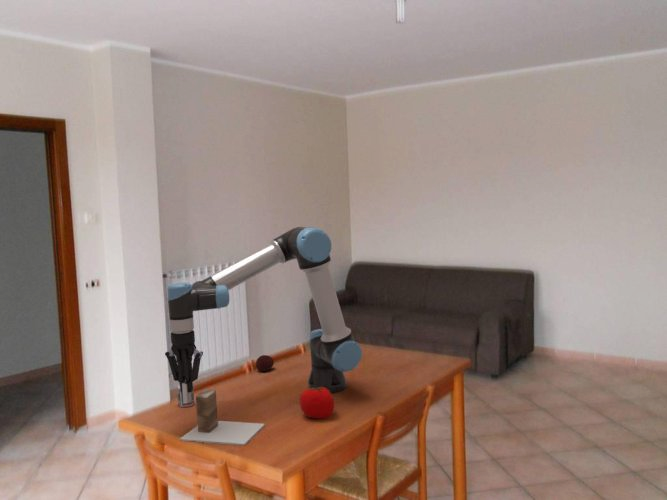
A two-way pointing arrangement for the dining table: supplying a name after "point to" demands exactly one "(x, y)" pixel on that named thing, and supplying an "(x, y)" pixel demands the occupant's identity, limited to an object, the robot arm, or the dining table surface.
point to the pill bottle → (180, 398)
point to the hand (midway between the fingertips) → (187, 401)
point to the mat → (226, 433)
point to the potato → (264, 363)
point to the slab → (206, 410)
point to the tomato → (317, 402)
